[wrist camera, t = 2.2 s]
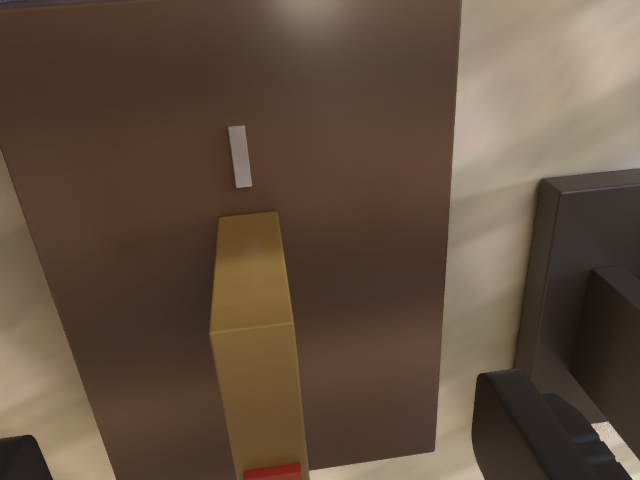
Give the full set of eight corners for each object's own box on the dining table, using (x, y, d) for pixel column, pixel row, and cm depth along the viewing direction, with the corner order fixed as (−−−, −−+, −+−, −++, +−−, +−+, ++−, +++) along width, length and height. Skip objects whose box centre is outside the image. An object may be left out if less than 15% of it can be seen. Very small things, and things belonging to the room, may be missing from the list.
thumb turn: (218, 216, 13) (207, 343, 9) (277, 210, 13) (295, 330, 9) (242, 364, 15) (242, 523, 11) (292, 357, 15) (312, 512, 11)
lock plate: (10, 1, 13) (-54, 13, 10) (421, -28, 14) (467, -25, 11) (138, 426, 19) (121, 504, 17) (410, 388, 20) (437, 456, 17)
